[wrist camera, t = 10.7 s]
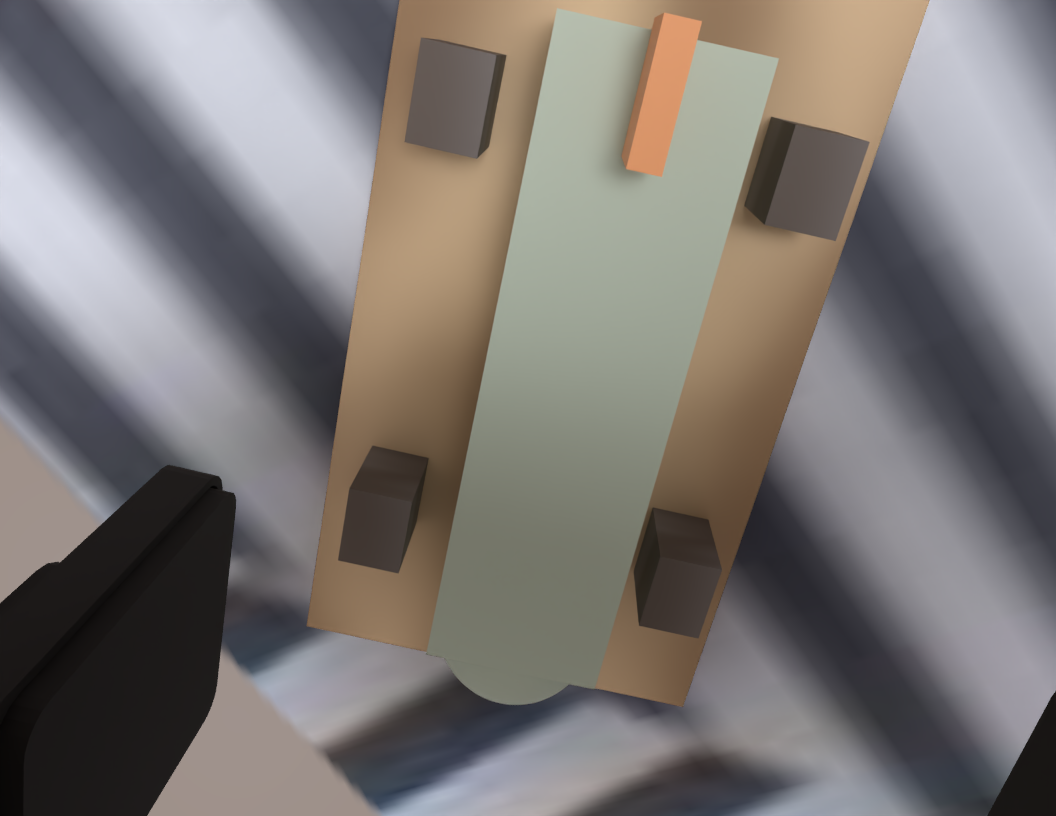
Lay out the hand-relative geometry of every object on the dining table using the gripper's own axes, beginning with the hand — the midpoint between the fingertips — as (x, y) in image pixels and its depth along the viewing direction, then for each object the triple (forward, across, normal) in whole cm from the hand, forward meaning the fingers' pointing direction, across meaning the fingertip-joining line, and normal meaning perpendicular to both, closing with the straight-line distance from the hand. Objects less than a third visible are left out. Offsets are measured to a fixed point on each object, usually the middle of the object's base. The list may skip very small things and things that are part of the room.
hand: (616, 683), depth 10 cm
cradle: (+14, +1, 0) cm, 14 cm away
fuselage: (+13, +1, 0) cm, 13 cm away
